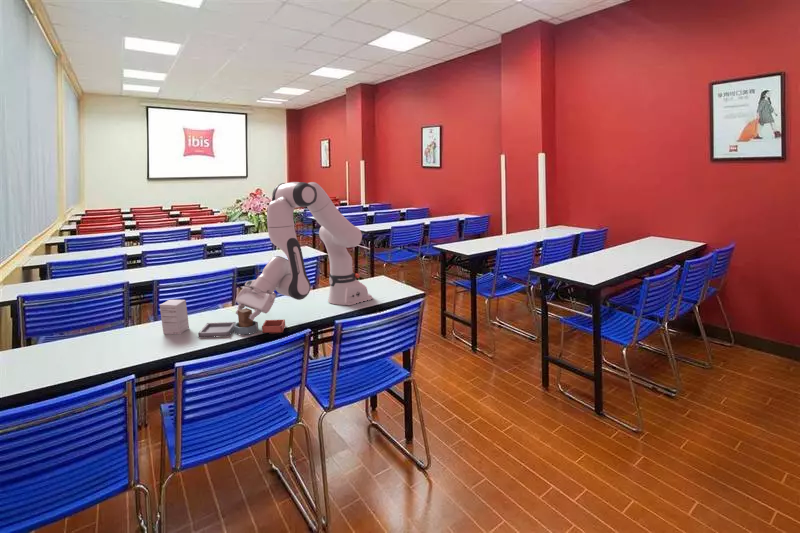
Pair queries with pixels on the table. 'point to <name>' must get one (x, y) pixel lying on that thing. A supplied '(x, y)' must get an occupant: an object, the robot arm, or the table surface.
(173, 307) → the supplement box
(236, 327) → the grey octagonal bowl
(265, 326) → the bin
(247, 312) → the walnut block
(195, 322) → the table surface
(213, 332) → the slate tray
